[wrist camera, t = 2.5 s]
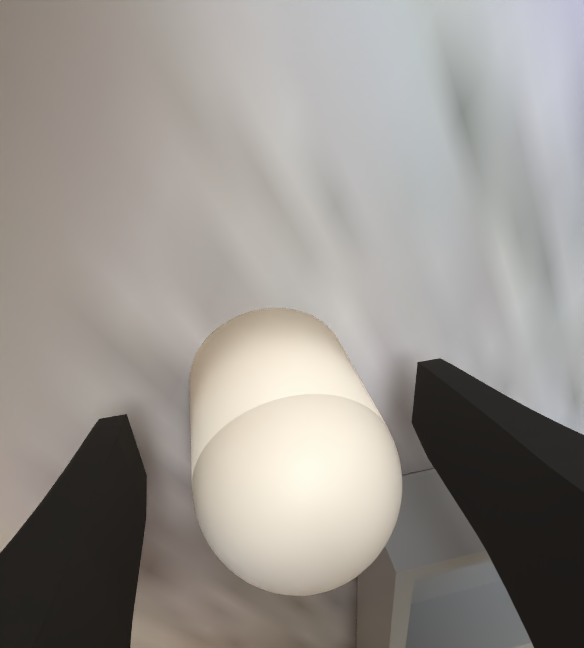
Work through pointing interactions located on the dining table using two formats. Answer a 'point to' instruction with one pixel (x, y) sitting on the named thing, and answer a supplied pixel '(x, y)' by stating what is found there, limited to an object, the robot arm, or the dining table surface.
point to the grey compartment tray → (434, 580)
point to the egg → (289, 455)
